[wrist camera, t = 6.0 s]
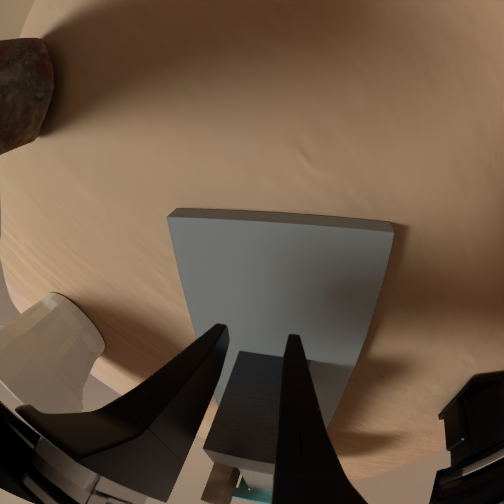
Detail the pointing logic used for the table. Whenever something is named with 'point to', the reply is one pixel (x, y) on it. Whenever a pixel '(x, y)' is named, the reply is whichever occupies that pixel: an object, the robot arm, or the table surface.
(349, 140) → the table surface
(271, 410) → the shaft
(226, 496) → the bearing block
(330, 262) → the base board
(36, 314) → the cup
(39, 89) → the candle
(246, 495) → the spacer
